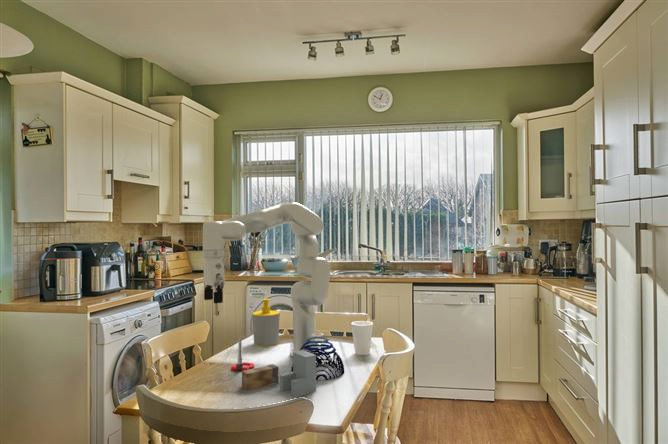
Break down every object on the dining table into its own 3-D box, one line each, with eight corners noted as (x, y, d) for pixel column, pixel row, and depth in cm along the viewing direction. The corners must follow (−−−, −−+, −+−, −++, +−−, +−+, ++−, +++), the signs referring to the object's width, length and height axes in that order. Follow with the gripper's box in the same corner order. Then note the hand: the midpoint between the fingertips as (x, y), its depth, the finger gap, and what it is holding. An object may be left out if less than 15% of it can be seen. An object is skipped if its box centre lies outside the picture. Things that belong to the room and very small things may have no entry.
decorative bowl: (339, 363, 183) (338, 327, 183) (349, 379, 163) (348, 339, 163) (289, 366, 179) (289, 329, 180) (293, 382, 160) (293, 342, 160)
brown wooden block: (272, 379, 163) (272, 364, 163) (278, 382, 160) (278, 366, 160) (241, 387, 155) (241, 370, 156) (247, 390, 152) (247, 373, 152)
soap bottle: (284, 341, 218) (284, 297, 219) (272, 348, 206) (272, 301, 206) (260, 339, 222) (259, 296, 223) (247, 346, 210) (247, 300, 210)
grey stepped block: (279, 389, 153) (279, 353, 153) (301, 383, 158) (301, 349, 158) (294, 397, 145) (294, 360, 145) (317, 391, 151) (317, 355, 151)
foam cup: (353, 349, 202) (352, 320, 202) (373, 350, 200) (373, 321, 201) (350, 355, 192) (350, 325, 193) (372, 356, 191) (371, 325, 191)
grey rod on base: (237, 364, 183) (228, 370, 173) (237, 332, 183) (229, 337, 174) (257, 365, 181) (249, 371, 172) (257, 333, 182) (249, 337, 173)
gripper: (232, 255, 161) (232, 303, 161) (214, 253, 175) (214, 297, 175) (211, 256, 157) (211, 305, 156) (195, 254, 171) (195, 299, 170)
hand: (213, 301), depth 165 cm, fingers open, 9 cm apart
